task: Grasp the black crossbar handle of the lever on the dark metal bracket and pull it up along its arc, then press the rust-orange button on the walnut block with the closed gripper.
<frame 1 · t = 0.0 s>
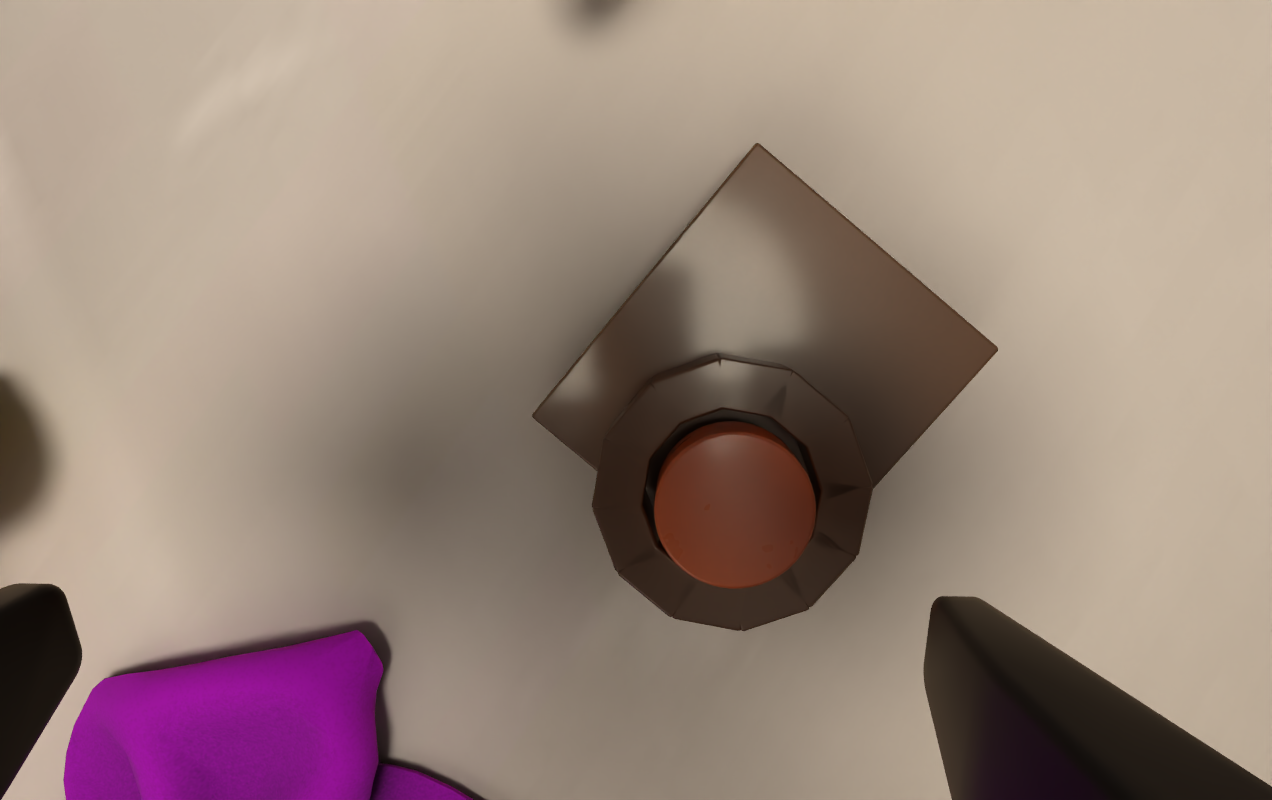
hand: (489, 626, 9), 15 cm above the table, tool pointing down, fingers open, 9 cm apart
button block: (753, 375, 24), on the table
button: (732, 502, 19), point 4 cm above the table, slide at 0.1 cm
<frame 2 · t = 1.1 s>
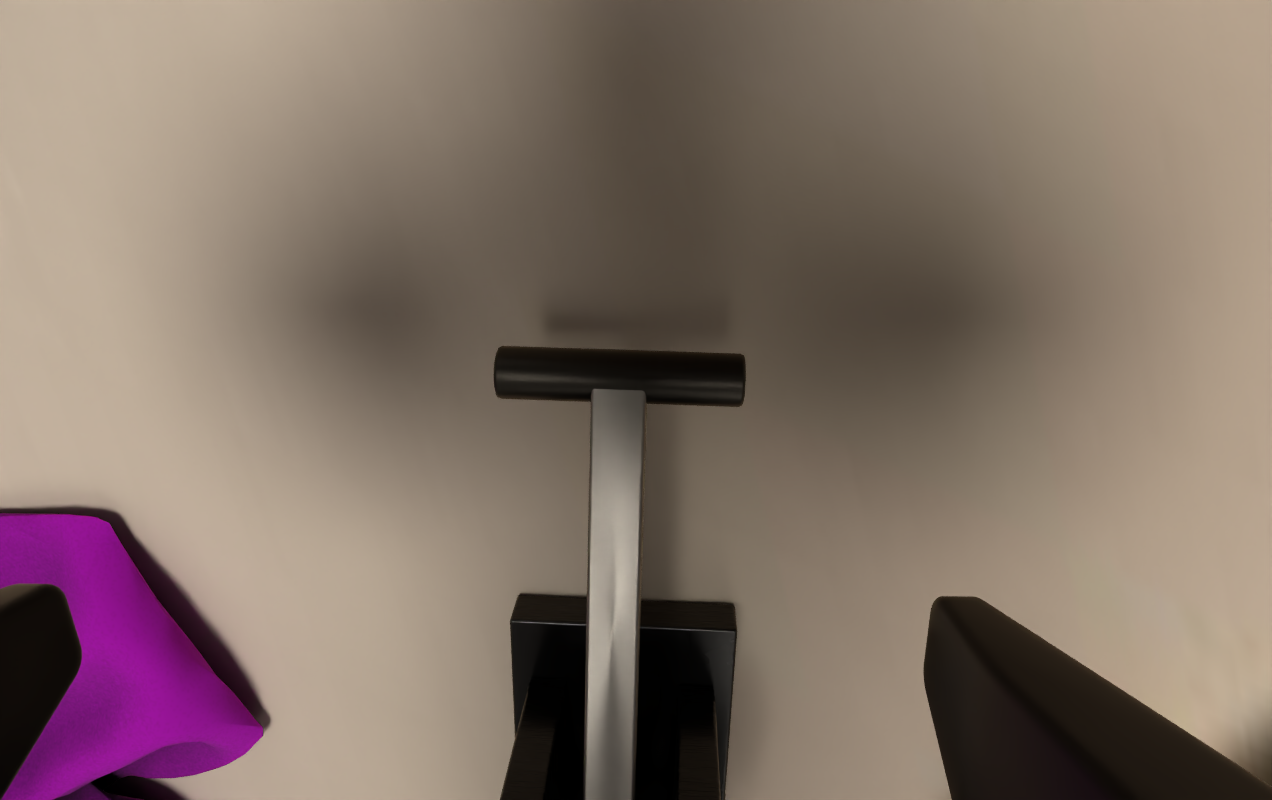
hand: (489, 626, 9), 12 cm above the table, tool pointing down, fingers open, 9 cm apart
bracket: (623, 714, 25), on the table
lever: (612, 671, 18), point 5 cm above the table, hinge at -12.0°
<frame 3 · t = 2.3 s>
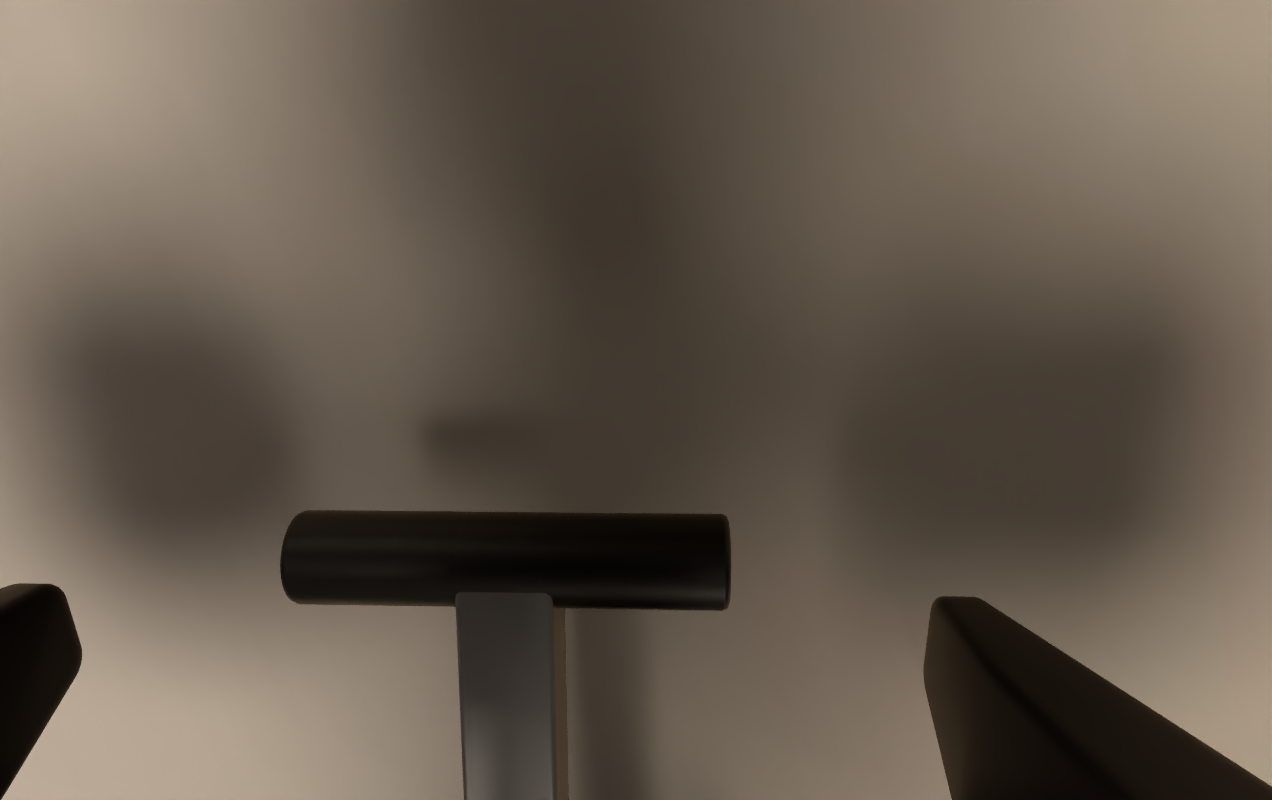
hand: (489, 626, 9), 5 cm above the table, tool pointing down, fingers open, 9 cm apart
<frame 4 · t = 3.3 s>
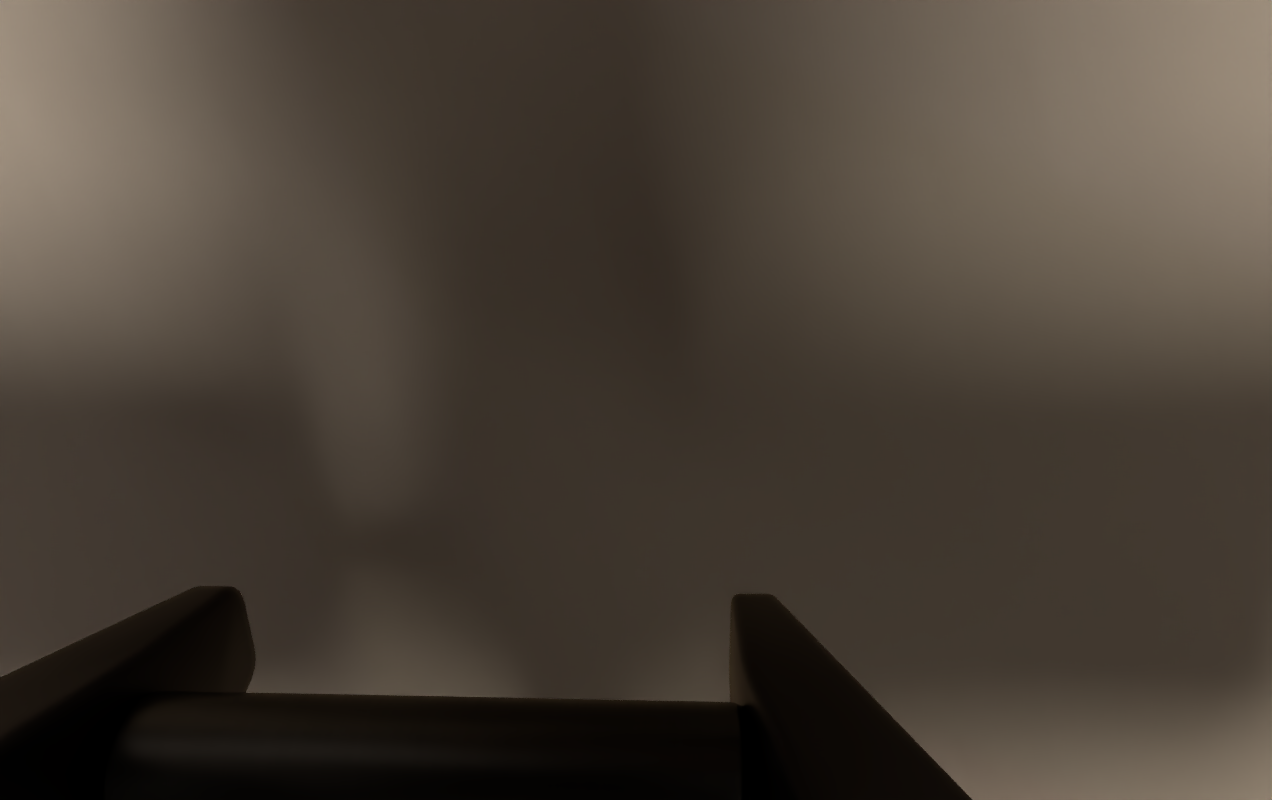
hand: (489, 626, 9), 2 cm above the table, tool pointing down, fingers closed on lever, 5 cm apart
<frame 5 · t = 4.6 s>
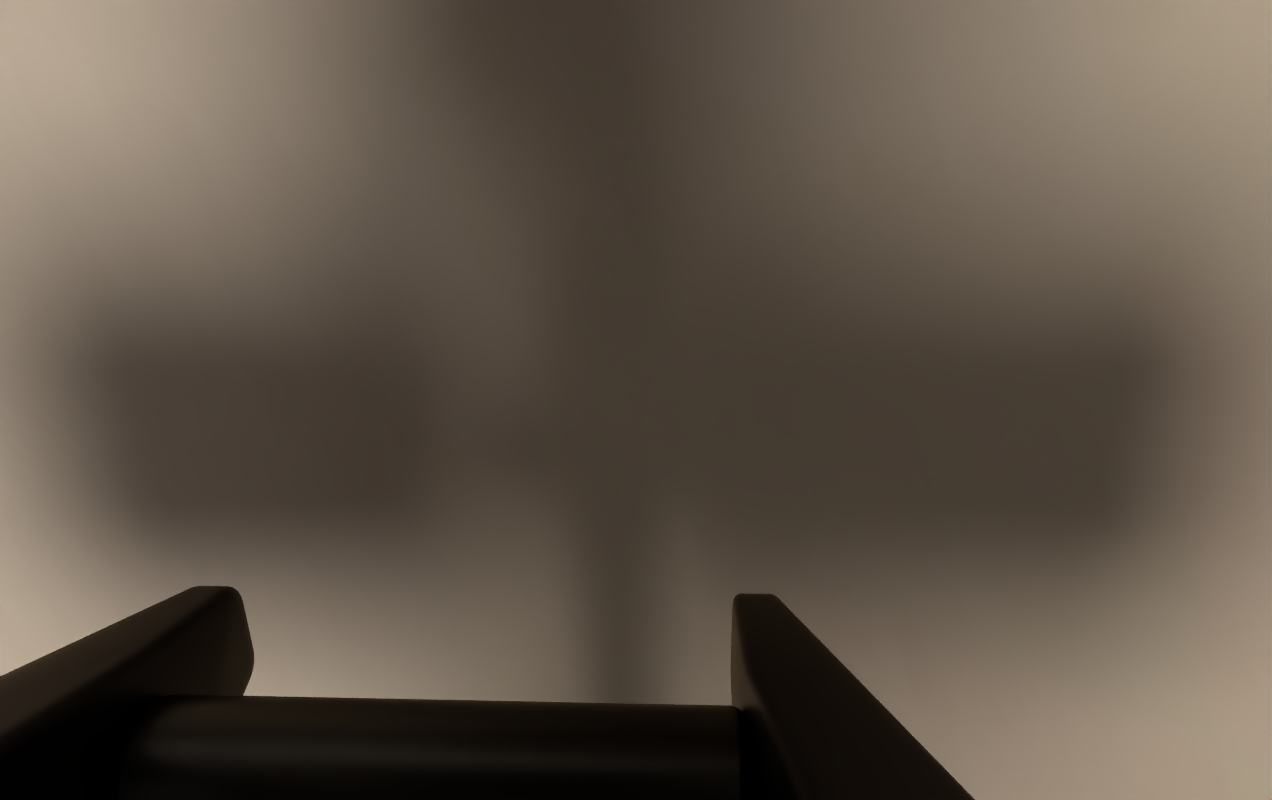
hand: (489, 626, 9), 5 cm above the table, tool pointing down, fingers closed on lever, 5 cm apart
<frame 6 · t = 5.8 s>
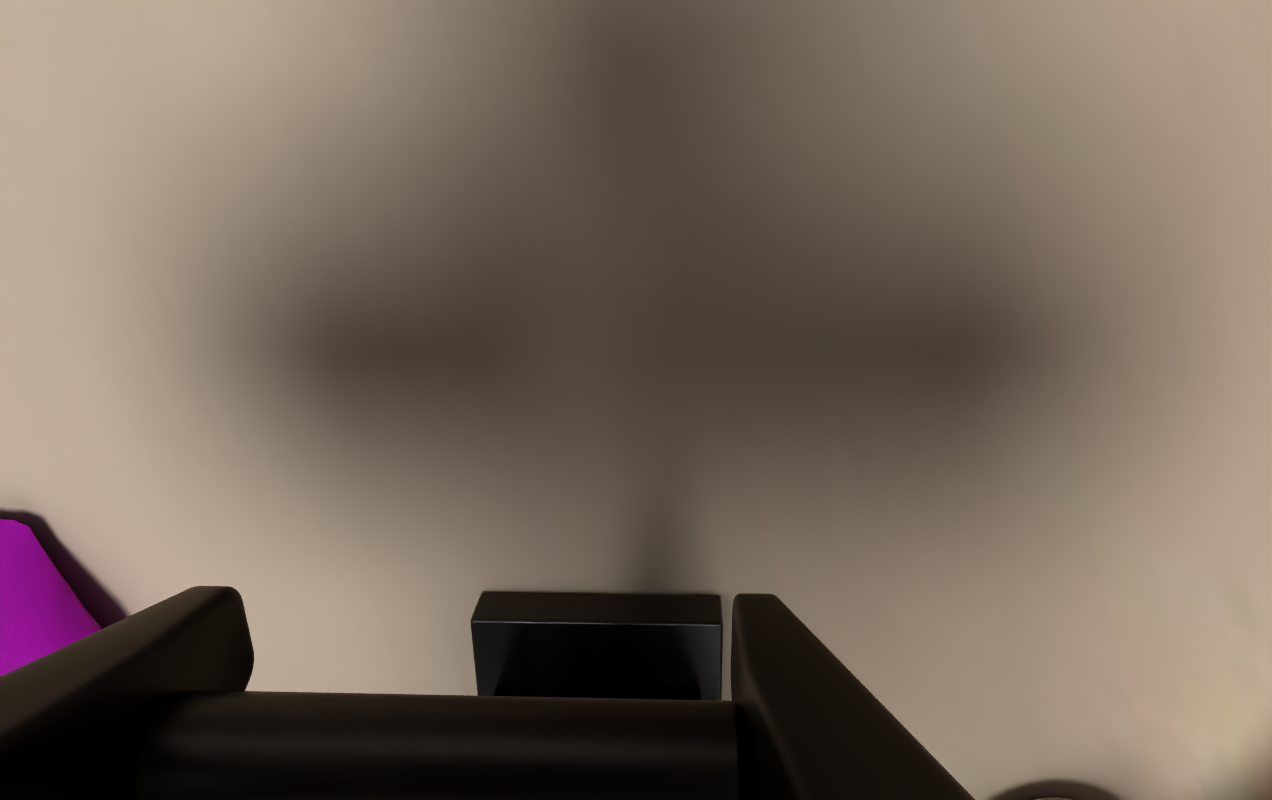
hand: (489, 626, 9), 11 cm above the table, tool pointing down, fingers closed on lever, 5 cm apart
bracket: (604, 723, 22), on the table
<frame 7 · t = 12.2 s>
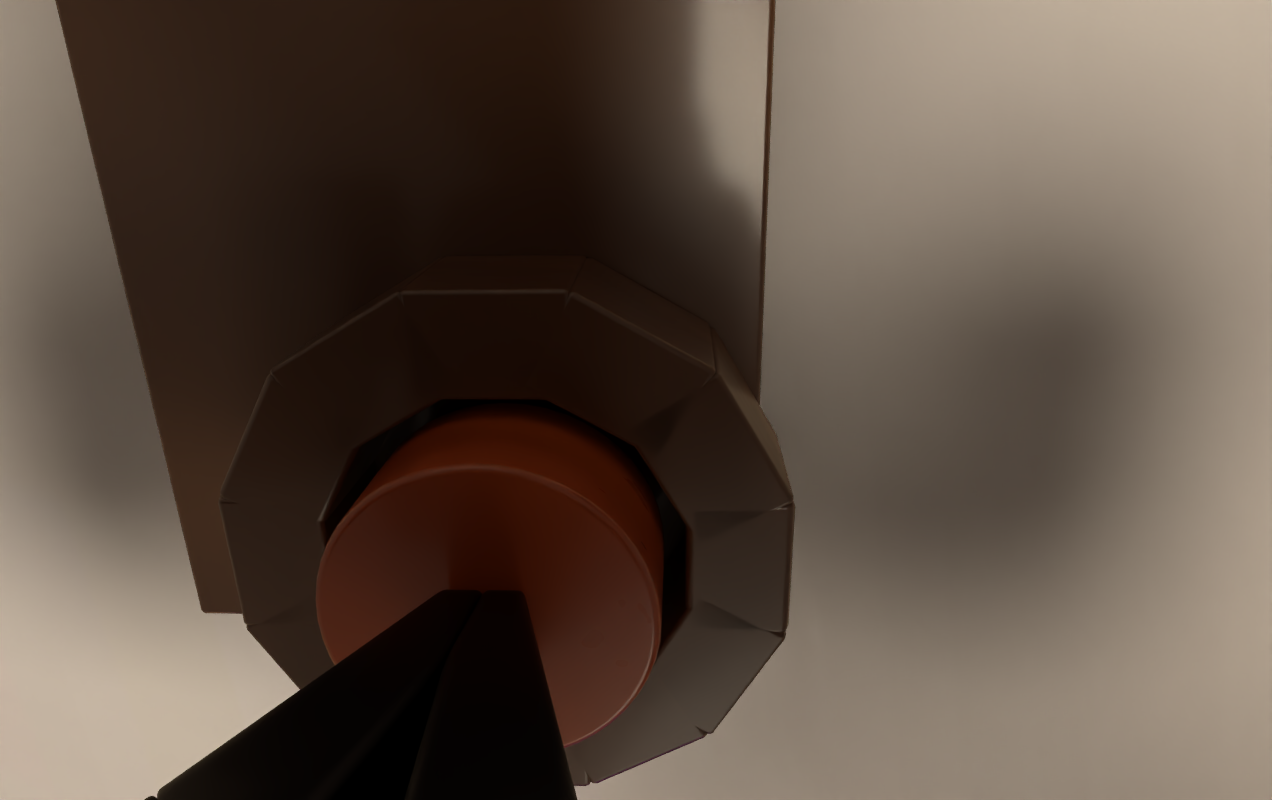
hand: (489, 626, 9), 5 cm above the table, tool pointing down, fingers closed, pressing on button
button block: (479, 276, 12), on the table
button: (502, 577, 9), point 4 cm above the table, slide at -0.2 cm, touching gripper
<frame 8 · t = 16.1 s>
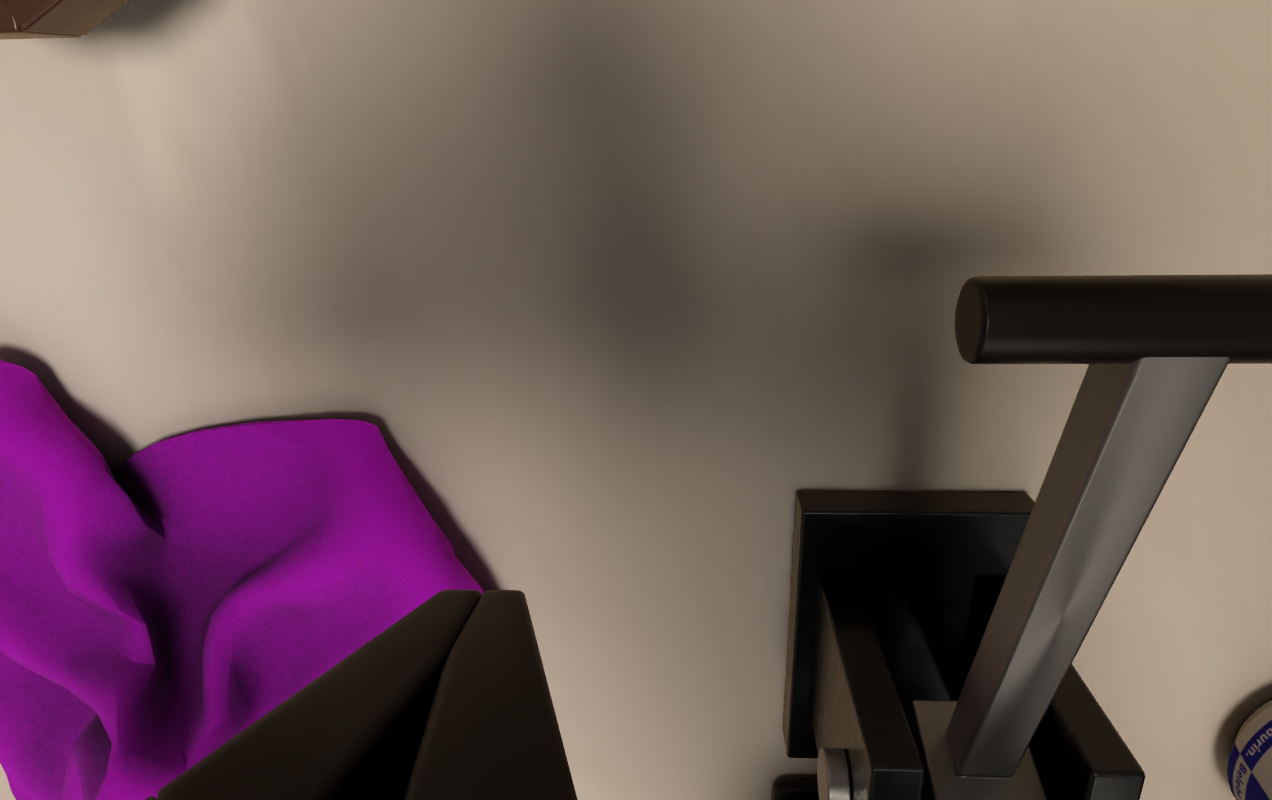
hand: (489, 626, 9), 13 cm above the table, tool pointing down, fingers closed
cloth: (227, 697, 26), on the table
bracket: (896, 617, 24), on the table
lever: (1033, 631, 14), point 8 cm above the table, hinge at 18.6°
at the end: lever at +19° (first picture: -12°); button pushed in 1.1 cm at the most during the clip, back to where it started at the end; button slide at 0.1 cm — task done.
